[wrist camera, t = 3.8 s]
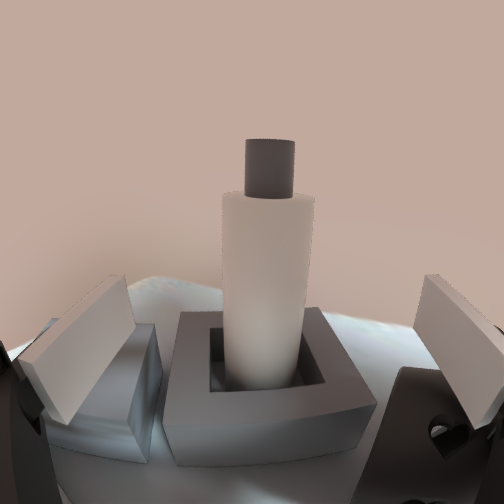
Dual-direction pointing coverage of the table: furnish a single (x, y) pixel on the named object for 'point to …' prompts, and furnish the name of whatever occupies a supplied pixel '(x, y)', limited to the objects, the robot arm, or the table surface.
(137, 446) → the stand
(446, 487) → the muzzle brake
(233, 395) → the socket block
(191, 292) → the table surface
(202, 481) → the table surface
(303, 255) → the white bottle
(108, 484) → the table surface
